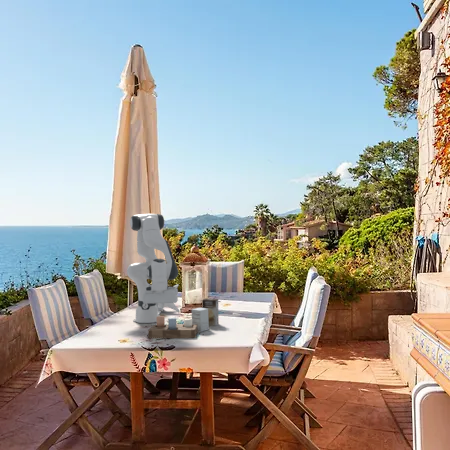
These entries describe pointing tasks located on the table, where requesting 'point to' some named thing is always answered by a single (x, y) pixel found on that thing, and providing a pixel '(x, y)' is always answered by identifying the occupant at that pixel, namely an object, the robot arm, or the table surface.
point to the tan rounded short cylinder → (160, 321)
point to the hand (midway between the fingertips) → (160, 310)
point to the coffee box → (211, 311)
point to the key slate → (172, 324)
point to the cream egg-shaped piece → (187, 322)
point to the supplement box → (200, 318)
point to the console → (173, 332)
